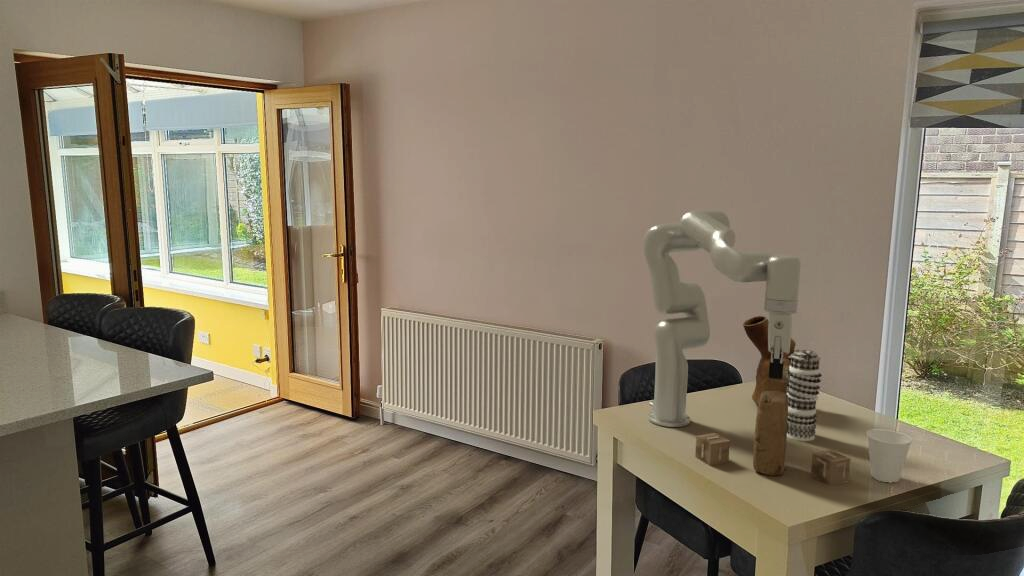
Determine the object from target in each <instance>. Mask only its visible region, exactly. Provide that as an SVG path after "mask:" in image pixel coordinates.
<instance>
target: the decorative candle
mask: <svg viewBox="0 0 1024 576" xmlns="http://www.w3.org/2000/svg"><path fill="white" fill-rule="evenodd" d="M789 357H790V358H791V364H790V367H789V368H788V369H787V374H789V375H787V377H786V378H787V380H788V381H787V382H786V383H787V386H788V387H787V389H786V391H787V395H788V425H787V438H788V439H790V440H791V439H792V440H794V441H800V442H809V441H810V442H811V441H813V440H815V439H816V435H815V434H816V429H817V425H816V423H817V419H816V418H817V416H818V415H817V401H818V400H819V396H818V395H819V394H820V391H819V390H820V388H821V386H819V385H818V384H819V383H822V380H821V377H822V374H821V373H820V360H821V359H822V358H821V357H820V356H819V355H818V354H817V352H815V351H813V350H809V349H801V348H800V349H796V350H795V351H794V353H793V354H790V356H789Z"/></svg>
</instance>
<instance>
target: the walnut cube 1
mask: <svg viewBox="0 0 1024 576" xmlns="http://www.w3.org/2000/svg"><path fill="white" fill-rule="evenodd" d="M695 438H696V439H695V454H694V456H695V458H697V459H698V460H700V461H701V462H702V463H704V464H706V465H708V466H710V467H711V466H716V465H721V464H727V463H730V461H729V459H730V446H731V445H730V443H731V440H729V439H727V438H725V437H723V436H722V435H720V434H718V433H716V432H713V433H705V434H700V435H696V436H695Z"/></svg>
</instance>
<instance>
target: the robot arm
mask: <svg viewBox="0 0 1024 576" xmlns="http://www.w3.org/2000/svg"><path fill="white" fill-rule="evenodd" d="M736 239H737V237H736V233H735V231H734V230H733V229H732V228H731V222H730V219H729V217H728V215H726V213H725V212H723V211H721V210H718V209H695V210H691V211H688V212H686V213H684V215H682V217H681V218H680V220H679V223H677V222H676V223H672V222H671V223H661V224H657V225H654V226H651V227H650V228H649V229H648V230H647V231H646V233H645V235H644V237H643V244H642V247H643V248H642V249H643V256H644V258H645V260H646V265H647V267H648V271H649V278H650V283H651V284H650V286H651V291H652V297H653V298H652V299H653V303H654V307H655V309H656V311H657V312H658V313H659V314H662V315H677V314H682V315H683V317H675V318H674V317H673V318H667V319H664V320H662V321H660V322H658V323H657V324H656V325H655V327H654V329H653V342H654V348H655V371H654V373H655V375H654V394H653V395H654V397H653V398H654V400H653V401H650V402H649V406H650V407H652V411H651V412H649V413H648V416H647V418H648V419H647V420H649V422H651V423H653V424H655V425H657V426H661V427H665V428H666V427H667V428H680V427H681V428H682V427H685V426H688V425H690V424H691V417H690V416H689V415H688V414H686V413H687V412H686V411H687V409H686V408H687V394H688V393H687V391H688V375H689V373H688V372H689V365H688V360H687V358H686V356H685V355H684V352H683V350H684V351H685V350H689V349H696V348H701V347H703V346H706V345H707V344H708V342H709V340H710V335H711V329H710V328H711V327H710V320H709V313H708V307H707V301H706V296H705V293H704V290H703V289H702V288H701V285H699V284H698V283H696V282H695V281H681V279H680V274H679V273H680V272H679V267H678V266H677V263H676V261H675V260H674V258H673V257H672V256H671V255H670V253H680V252H694V251H698V250H701V249H703V250H704V251H706V252H707V253H709V255H710V260H711V262H712V265H713V267H714V268H715V269H716V270H717V271H718V272H719V273H721V274H722V275H724V276H725V277H727V278H729V279H731V280H732V281H734V282H737V283H744V284H745V283H753V282H755V283H757V282H765V293H764V306H763V307H764V309H763V310H764V312H766V313H768V321H769V324H768V351H769V352H770V353H771V361H770V364H769V378H774V379H782V376H783V363H784V362H783V351H784V352H785V353H787V354H789V352H790V342H791V338H792V327H793V315H795V314H797V313H798V303H799V288H800V275H801V260H800V258H798V257H797V256H795V255H785V254H779V253H775V252H773V251H751V252H750V251H749V252H748V251H746V252H742V251H739V250H737V249H735V248H734V246H735V243H736Z"/></svg>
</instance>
